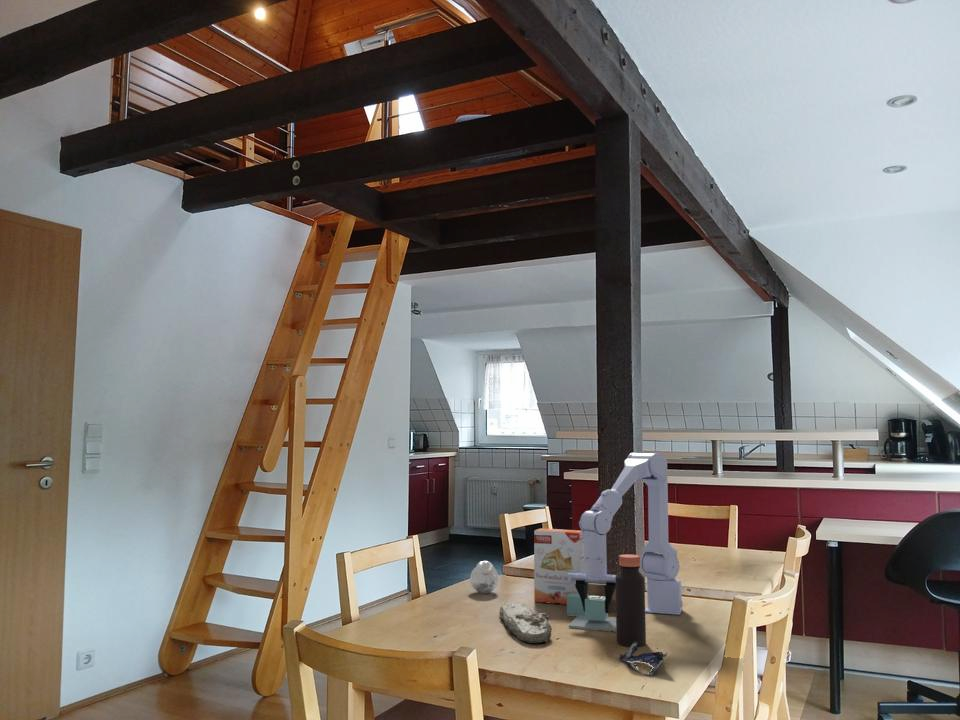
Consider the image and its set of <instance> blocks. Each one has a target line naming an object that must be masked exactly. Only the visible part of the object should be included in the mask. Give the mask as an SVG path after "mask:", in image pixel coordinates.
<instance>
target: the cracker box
mask: <svg viewBox="0 0 960 720" xmlns="http://www.w3.org/2000/svg"><path fill="white" fill-rule="evenodd" d="M533 537H534V538H533V539H534V540H533V541H534V542H533V543H534V545H533V547H534V549H533V550H534V551H533V553H534V556H533V557H534V560H533V562H534V563H533V564H534V565H533V567H534V569H533V573H534V577H533V580H534V581H533V582H534V583H533V586H534V588H533V589H534V591H533V592H534V595H533V598H534V603H543V602H550V603H549V604H554V603H560V604H559V605H564V604H566V605H565V606H567V596H568V595H569V594H570V593H578V591H577V589H576V587H575V584H576V581H572V582H568V574H569V573H585V558H584V538H583V537H582V530H578V529H577V530H576V529H562V528H561V529H560V528H559V529H558V528H537V529H535V530H534V535H533ZM578 594H579V593H578Z"/></svg>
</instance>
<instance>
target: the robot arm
mask: <svg viewBox="0 0 960 720" xmlns="http://www.w3.org/2000/svg"><path fill="white" fill-rule="evenodd" d="M623 463H624V464H623V465H624V467H623V469H622V471H621V472H620V474H619V476H618V477H617V478H616V480H615V482H614V483H613V485H612V487H611V489H605V490H604V491H602V492H601V493H600V496H599V497H598V499H597V500H596V502H595V503H594V504H593V505H592V506H591V508H590V510H586V511H584V512H583V513H582V514H581V516H580V519H579V521H578V525H579V528H580V531H582V537H583V538H584V558H585V573H569V574H568V582H572V581H576V584H575V587H576V589H577V591H578V593H579V596H580V598H581V601H582V605H583V610H584V611H585V599H586V598H587V589H588V583H595V584H606V585H605V586H604V589H605V613H608V614H609V613H610V611H609V609H610V603H611V599H612V596H613V593H614V591H615V588H616V581H615V578H616V576H617V575H618V574H608V564H607V563H608V561H607V560H608V559H607V533H608V532H610V530H611V528H612V522H613V519H614V516H615V514H616V513H617V512H618V510H620V507H621V506H622V505H623V496H624V495H625V494H626V493H627V492H628V491H629V489H630V488H631V487H632V485H634V483H635V482H636V481H637V480H641V481H643V483H644V484H645V485H647V493H648V495H647V499H648V501H647V504H648V507H647V508H648V510H647V511H648V512H647V515H648V518H647V519H648V542H647V543H646V544H645V545H644V546H643V547H642V549H641V550H642V551H641V552H642V553H641V556H640V570H641V572H642V573H643V574H644V578H646V593H647V594H646V598H647V601H646V603H647V604H646V606H645V613H649V614H651V613H652V614H663V615H666V614H667V615H675V616H676V615H678V616H680V615H681V613H682V610H683V606H684V605H683V598H682V595H683V594H682V591H683V590H682V580H681V579H677V578H676V577H677V576H678V574H679V572H680V561H679V559H678V551H677V549H676V548H675V547H674V546H672V545H671V543H669V495H668V494H669V493H668V491H669V490H668V483H669V482H668V460H667V459H666V458H665V456H664V455H663V454H661V453H660V452H655V453H654V452H653V453H651V452H649V453H648V452H647V453H646V452H634V451H633V452H631V453H629V454H628V456H627V458H626V459H624V462H623Z"/></svg>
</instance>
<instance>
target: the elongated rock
mask: <svg viewBox="0 0 960 720" xmlns="http://www.w3.org/2000/svg"><path fill="white" fill-rule="evenodd" d="M499 615H500V617H499V618H500V619H501V620H502V621H503V622H504V626H505V627H507V628H508V630H509V631H510V632H511V633H512V634H513V635H514V636H515V637H516V636H517V637H516V638H517V639H518V640H519V639H521V641H522V642H525V643H526V642H527V643H530V644H536V643H538V644H539V643H547V642H548V639H551V637H552V629H553V628H552V626H551V624H550V623H549V620H550V616H549V614H548V613H546V612H541V613H540V612H539V613H538V612H536V611H535V612H534V611H532V609H530V608H528V607H527V606H526V604H525V603H521V602H509V603H504V604H503V605H502V606H500V608H499Z"/></svg>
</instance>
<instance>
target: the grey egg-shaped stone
mask: <svg viewBox="0 0 960 720" xmlns="http://www.w3.org/2000/svg"><path fill="white" fill-rule="evenodd" d="M469 578H470V579H469V580H470V584H471V587H472V588H473V589H474V590H475V591H476V592H478V593H480V594H489V593H492V592H493V591H494V590H496V588H497V587H498V585H499V580H500V578H499V573H498V571H497V569H496V568H495V566H494V565H493V563H492V562H490V561H488V560H483V561H482V560H481V561H479V562H478V563H477V564H476V567H474V568H473V569H472V571H471V573H470V577H469Z"/></svg>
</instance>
